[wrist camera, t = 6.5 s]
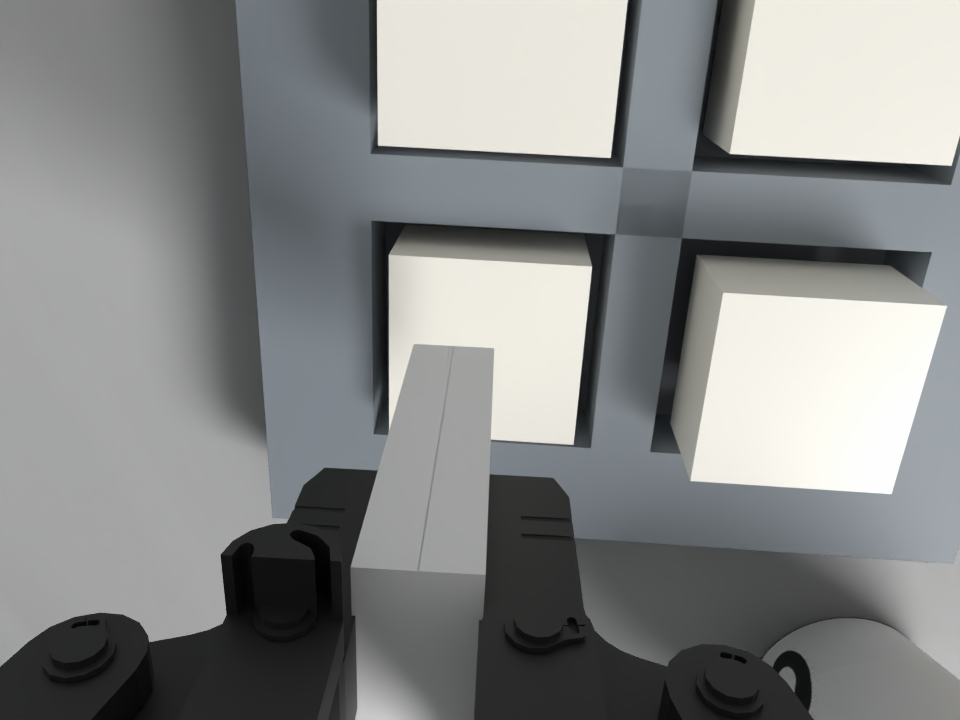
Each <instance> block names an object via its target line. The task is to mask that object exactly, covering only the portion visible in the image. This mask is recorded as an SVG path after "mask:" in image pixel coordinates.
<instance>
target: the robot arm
mask: <svg viewBox="0 0 960 720" xmlns="http://www.w3.org/2000/svg"><path fill="white" fill-rule="evenodd" d="M493 368H494V348H483V347H464V346H445V345H426V344H414V345H413V348H412V352H411V355H410V359H409V362H408V366H407V369H406V373H405V377H404V380H403V384H402V387H401V391H400V394H399V398H398V401H397V405H396V408H395V412H394V415H393V419H392V422H391V426H390V430H389V433H388V437H387V440H386V444H385V447H384V451H383V454H382V458H381V461H380V465H379V468H378V470H360V469H342V468H324V469H322V470H321V471H320V472H319V473H318V474H316V475H315V476H314V477H313V478H311V479H310V480H309V481H308V482H307V483H305V484H304V485H303V488H302V490H301V492H300V495H299V497H298V499H297V501H296V504H295V508H294V510H293V511H292V513H291V515H290V518H289V520H288V522H287V523H286V524H272V525H269V526H265V527H262V528H258V529H255V530H251V531H249V532H248V533H246V534H244V535H242V536H241V537H239V538H237V539H235V540H234V541H232V542H231V544H230V545H229V546H228V547H227V548H226V549H225V551H224V552H223V553H222V554H221V563H222V573H223V583H224V592H225V602H226V612H227V615H226V618H225V620H224V622H223V624H221V625H219V626H217V627H214V628H212V629H210V630H207V631H203V632H199V633H196V634H192V635H187V636H182V637H176V638H171V639H165V640H159V641H154V642H149V640H148V635H147V633H146V632H145V630H144V629H143V627H142V626H141V624H140V623H139V622H137V621H135V620H133V619H131V618H129V617H126V616H124V615H120V614H109V613H96V614H90V615H84V616H78V617H74V618H71V619H69V620H66V621H64V622H61V623H59V624H56V625H54V626H51V627H49V628H48V629H46V630H45V631H44V632H42V633H41V634H39V635H38V636H36V637H35V638H33V639H32V640H30V641H29V642H28V643H27V644H26V645H24V646H23V647H22V648H21V649H20V650H19V651H18V652H17V653H16V654H14V655H13V656H12V657H11V658H10V659H9V660H8V661H7V662H5V663H4V664H3V665H2V666H1V667H0V720H814V719H813V718H812V716H811V715H810V714H809V712H808V711H807V709H806V708H805V707H804V705H803V704H802V702H801V701H800V700H799V698H798V697H797V696H796V694H795V693H794V691H793V690H792V689H791V687H790V686H789V685H788V683H787V682H786V681H785V680H784V679H783V678H782V677H781V676H780V675H779V674H778V673H777V672H776V671H775V670H774V669H773V668H772V667H771V666H770V665H769V664H767V663H766V662H764V661H762V660H760V659H759V658H757V657H755V656H754V655H752V654H750V653H748V652H746V651H742V650H739V649H736V648H732V647H729V646H725V645H704V644H701V645H697V646H694V647H691V648H688V649H684V650H682V651H681V652H679V653H678V654H677V655H676V656H675V657H674V658H673V659H672V660H671V661H670V662H669V665H668V667H667V666H663V665H660V664H657V663H654V662H650V661H647V660H644V659H640V658H638V657H635V656H633V655H630V654H628V653H625V652H623V651H621V650H619V649H617V648H616V647H614V646H613V645H611V644H609V643H608V642H606V641H605V640H604V639H603V638H602V637H601V636H600V635H599V634H598V633H597V632H595V630H594V628H593V626H592V623H591V621H590V619H589V618H588V617H587V616H586V614H585V611H584V608H583V600H582V592H581V585H580V577H579V569H578V561H577V554H576V546H575V541H574V530H573V523H572V515H571V507H570V499H569V496H568V495H567V494H566V493H565V491H564V490H563V489H562V488H561V486H560V485H559V484H558V483H557V482H556V480H555V479H554V478H549V477H531V476H513V475H494V474H489V473H490V447H491V421H492V394H493Z"/></svg>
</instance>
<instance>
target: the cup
mask: <svg viewBox="0 0 960 720" xmlns="http://www.w3.org/2000/svg"><path fill="white" fill-rule="evenodd" d="M762 661H764V662H766V663H767V664H769V665H770V666H771V667H772V668H773V669H774V670H775V671H776V672H777V673H778V674H779V675H780V676H781V677H782V678H783V679H784V680H785V681H786V682H787V683H788V685H789V686H790V687H791V689H792V690H793V691H794V693H795V694H796V696H797V697H798V698H799V700H800V701H801V702H802V704H803V705H804V707H805V708H806V709H807V711H808V712H809V714H810V715H811V716H812V718H813V719H814V720H960V680H959V679H958V678H956V677H955V676H954V675H953V674H951V673H950V672H949V671H947V670H946V669H945V668H944V667H942V666H941V665H940V664H939V663H937V662H936V661H935V660H934V659H932V658H931V657H930V656H929V655H927V654H926V653H925V652H923V651H922V650H921V649H920V648H918V647H917V646H916V645H915V644H913V643H912V642H911V641H910V640H908V639H907V638H906V637H905V636H903V635H902V634H901V633H899V632H898V631H896V630H895V629H893V628H891V627H889V626H887V625H884V624H881V623H878V622H875V621H871V620H866V619H858V618H838V619H830V620H824V621H820V622H816V623H813V624H810V625H807V626H804V627H802V628H800V629H797V630H795V631H794V632H792V633H790V634H788V635H787V636H785V637H784V638H782V639H781V640H780V641H778V642H777V643H776V644H775V645H774V646H773V647H772V648H771V649H770V650H769V651H768V652H767V653H766V654H765V656H764V657H763V659H762Z"/></svg>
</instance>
